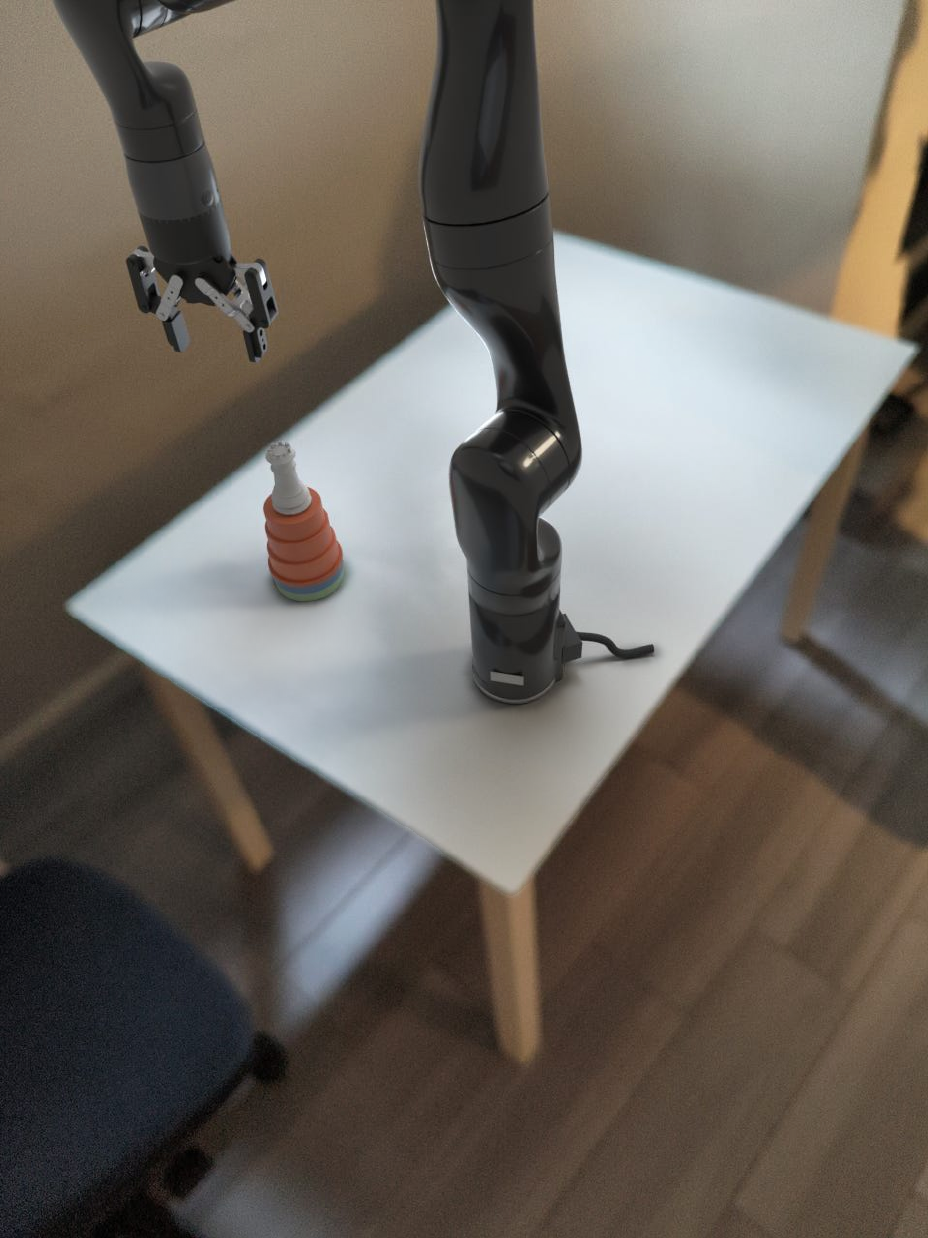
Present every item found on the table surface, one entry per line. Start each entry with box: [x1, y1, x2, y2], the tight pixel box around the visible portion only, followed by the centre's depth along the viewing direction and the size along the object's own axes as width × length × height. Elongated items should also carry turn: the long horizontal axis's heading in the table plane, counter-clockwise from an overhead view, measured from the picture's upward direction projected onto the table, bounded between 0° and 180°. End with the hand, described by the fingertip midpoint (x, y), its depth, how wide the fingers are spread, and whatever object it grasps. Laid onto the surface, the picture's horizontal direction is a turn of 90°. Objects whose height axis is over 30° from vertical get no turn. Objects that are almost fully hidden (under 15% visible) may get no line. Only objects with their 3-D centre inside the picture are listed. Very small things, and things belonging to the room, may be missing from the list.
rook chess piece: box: [265, 440, 312, 515], centre depth 101 cm, size 4×4×8 cm
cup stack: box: [262, 486, 345, 602], centre depth 108 cm, size 9×9×12 cm
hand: (219, 352), depth 95 cm, fingers open, 8 cm apart
